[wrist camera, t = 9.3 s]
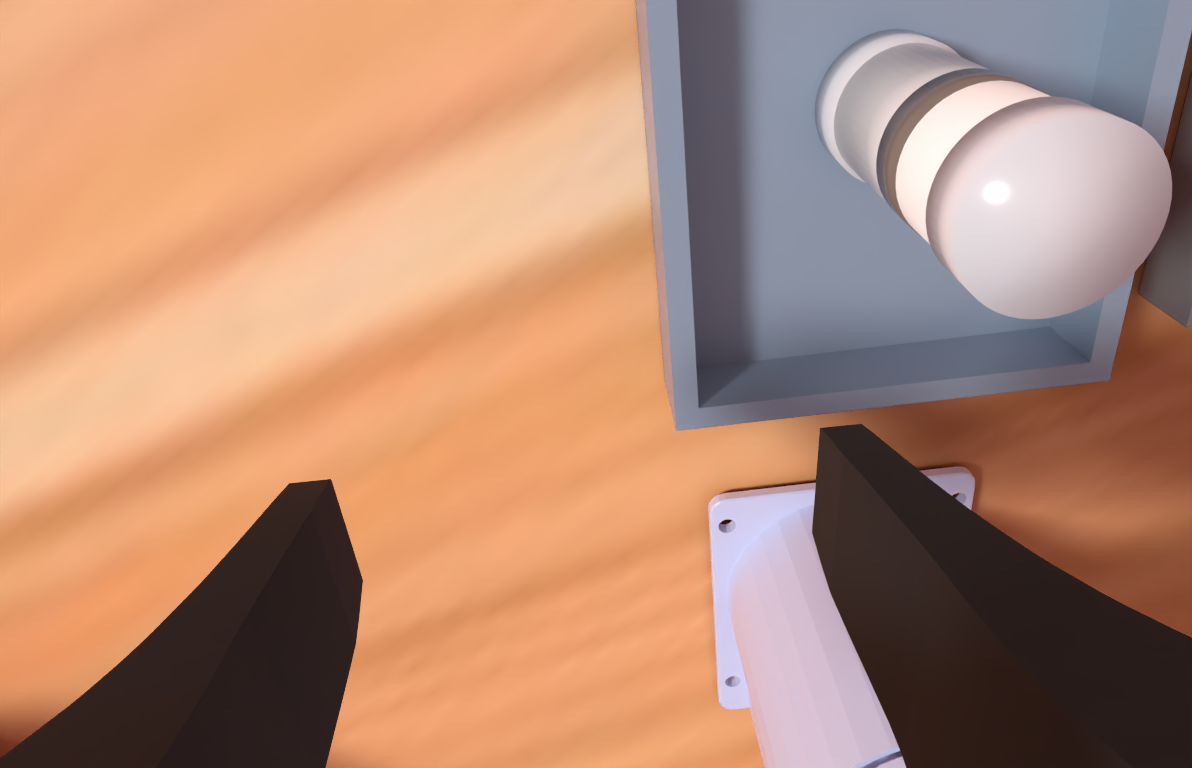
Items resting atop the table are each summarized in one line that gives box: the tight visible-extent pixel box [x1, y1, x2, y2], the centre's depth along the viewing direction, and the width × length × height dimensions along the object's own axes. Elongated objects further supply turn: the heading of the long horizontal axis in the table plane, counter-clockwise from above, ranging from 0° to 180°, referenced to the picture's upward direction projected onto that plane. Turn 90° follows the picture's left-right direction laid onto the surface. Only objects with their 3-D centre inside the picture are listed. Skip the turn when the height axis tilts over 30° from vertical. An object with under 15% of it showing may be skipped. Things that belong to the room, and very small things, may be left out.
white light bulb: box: [815, 29, 1172, 319], centre depth 16 cm, size 3×3×8 cm
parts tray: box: [635, 0, 1192, 431], centre depth 19 cm, size 14×11×2 cm
